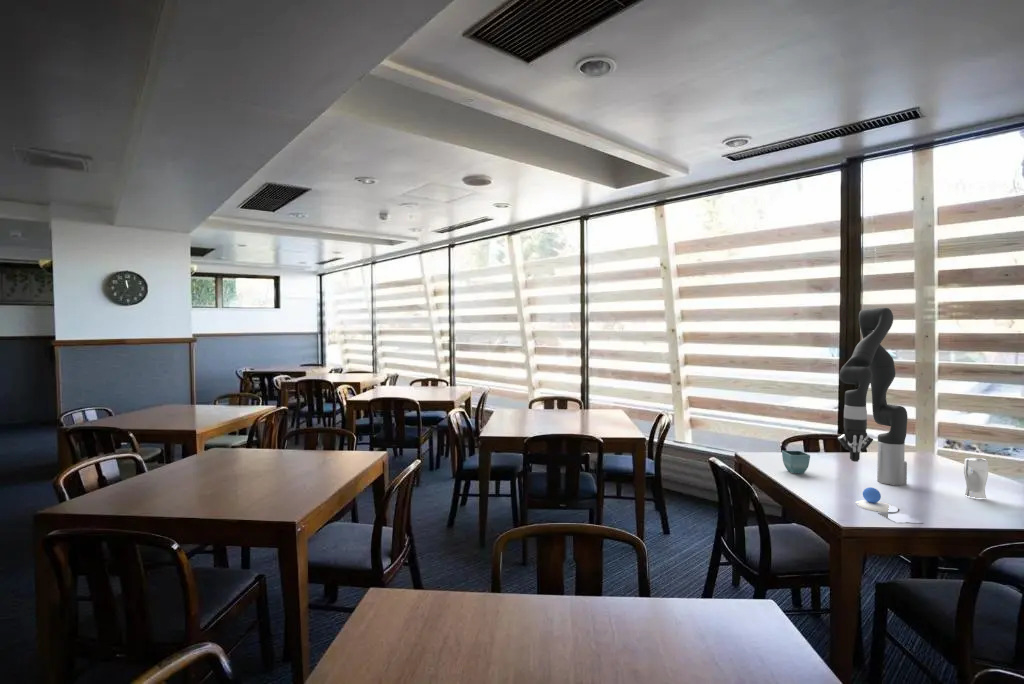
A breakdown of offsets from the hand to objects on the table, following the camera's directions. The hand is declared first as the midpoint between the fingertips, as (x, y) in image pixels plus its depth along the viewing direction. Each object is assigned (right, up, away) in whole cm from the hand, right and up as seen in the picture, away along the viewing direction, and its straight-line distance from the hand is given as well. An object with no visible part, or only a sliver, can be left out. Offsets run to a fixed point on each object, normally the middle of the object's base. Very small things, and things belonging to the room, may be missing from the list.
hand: (854, 461), depth 199 cm
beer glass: (+45, -14, -3) cm, 47 cm away
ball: (+1, -11, -8) cm, 14 cm away
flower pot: (-5, -13, +33) cm, 36 cm away
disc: (-1, -14, -13) cm, 19 cm away
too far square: (-1, -14, -25) cm, 28 cm away
